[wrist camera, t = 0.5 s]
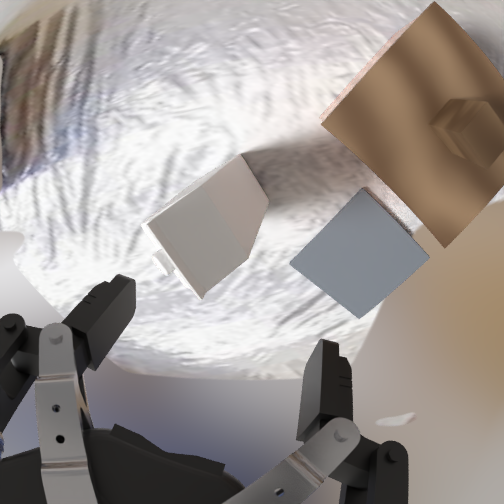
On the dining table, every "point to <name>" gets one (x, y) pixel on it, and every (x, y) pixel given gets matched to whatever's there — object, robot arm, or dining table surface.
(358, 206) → the mat
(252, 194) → the milk carton
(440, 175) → the lid
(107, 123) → the dining table surface
